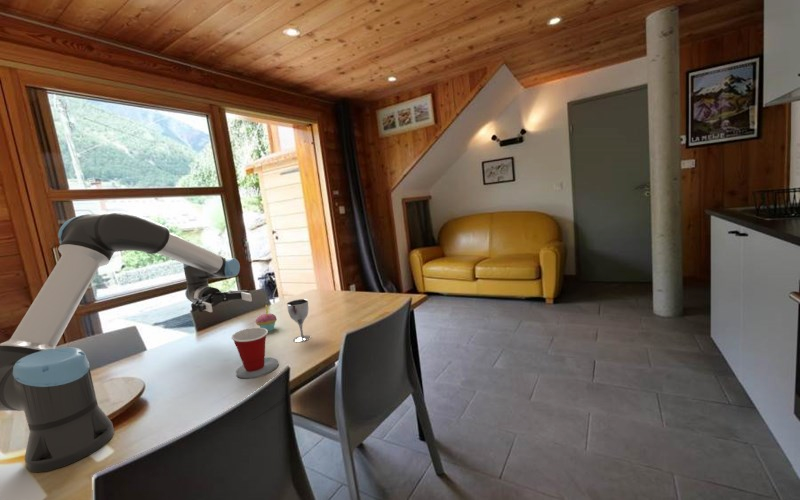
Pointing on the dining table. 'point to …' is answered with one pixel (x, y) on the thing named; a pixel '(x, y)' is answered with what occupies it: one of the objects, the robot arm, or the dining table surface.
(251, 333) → the plastic cup
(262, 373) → the coaster
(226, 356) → the dining table surface
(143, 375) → the dining table surface
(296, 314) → the wine glass
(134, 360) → the dining table surface
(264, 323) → the cupcake
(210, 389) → the dining table surface
